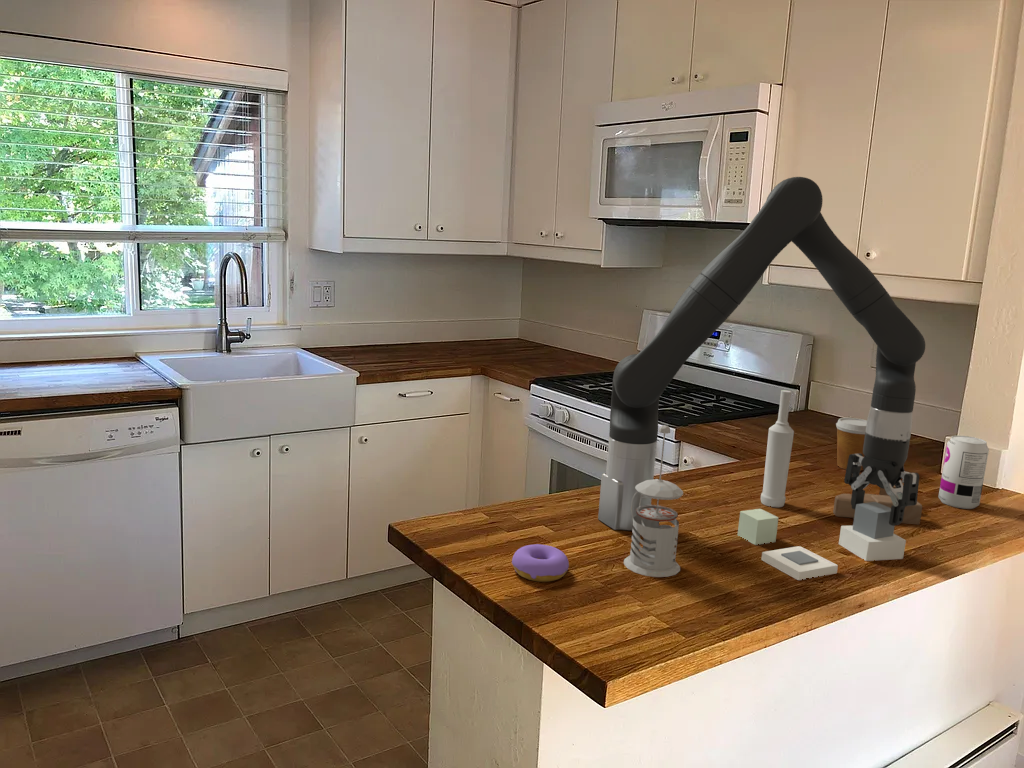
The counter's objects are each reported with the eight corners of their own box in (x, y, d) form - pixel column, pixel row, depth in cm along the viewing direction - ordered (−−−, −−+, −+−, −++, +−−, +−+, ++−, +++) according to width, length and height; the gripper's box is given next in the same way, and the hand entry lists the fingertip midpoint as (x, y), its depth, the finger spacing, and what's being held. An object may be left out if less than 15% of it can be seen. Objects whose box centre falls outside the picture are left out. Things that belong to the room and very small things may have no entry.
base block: (865, 562, 151) (868, 542, 150) (838, 545, 159) (841, 525, 158) (902, 560, 153) (906, 540, 152) (874, 543, 161) (877, 524, 160)
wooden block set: (928, 501, 171) (838, 493, 173) (924, 527, 172) (835, 519, 174) (899, 476, 187) (818, 469, 189) (896, 500, 189) (815, 493, 190)
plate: (798, 580, 141) (799, 570, 140) (761, 559, 149) (762, 550, 148) (836, 573, 145) (838, 563, 144) (798, 553, 153) (799, 544, 152)
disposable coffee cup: (871, 475, 206) (878, 428, 204) (831, 469, 209) (837, 423, 207) (868, 465, 215) (875, 420, 213) (829, 459, 218) (835, 415, 215)
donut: (577, 582, 135) (573, 555, 134) (522, 595, 133) (517, 568, 132) (561, 557, 144) (557, 531, 143) (509, 569, 143) (505, 543, 142)
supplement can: (933, 502, 187) (943, 438, 184) (944, 495, 193) (954, 432, 190) (972, 512, 182) (984, 446, 179) (982, 504, 188) (994, 440, 185)
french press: (643, 580, 137) (656, 434, 133) (607, 553, 148) (619, 417, 143) (692, 573, 141) (707, 431, 136) (654, 547, 152) (667, 414, 147)
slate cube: (874, 539, 152) (878, 513, 151) (852, 529, 156) (856, 504, 155) (893, 535, 154) (897, 510, 153) (870, 526, 159) (874, 501, 158)
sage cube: (755, 545, 156) (758, 520, 155) (737, 535, 160) (740, 511, 159) (775, 542, 158) (778, 517, 157) (757, 532, 162) (760, 508, 161)
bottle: (786, 508, 177) (800, 394, 172) (761, 505, 178) (774, 392, 173) (783, 501, 182) (797, 390, 177) (759, 498, 183) (772, 387, 178)
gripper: (842, 424, 156) (831, 506, 159) (906, 444, 143) (893, 532, 147) (870, 422, 159) (859, 502, 162) (936, 441, 147) (922, 528, 150)
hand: (875, 516), depth 155 cm, fingers open, 8 cm apart
